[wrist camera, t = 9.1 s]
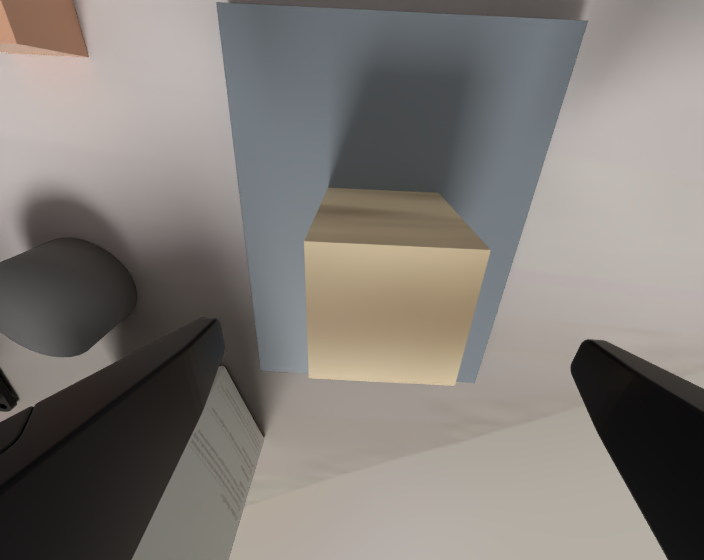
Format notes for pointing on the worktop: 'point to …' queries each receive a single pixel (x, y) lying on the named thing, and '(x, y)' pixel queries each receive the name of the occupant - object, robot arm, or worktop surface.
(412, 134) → the slate board
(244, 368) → the worktop surface
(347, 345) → the beech block
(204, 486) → the supplement box
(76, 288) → the smooth grey pebble
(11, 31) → the terracotta tile
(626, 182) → the worktop surface
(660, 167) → the worktop surface
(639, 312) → the worktop surface
